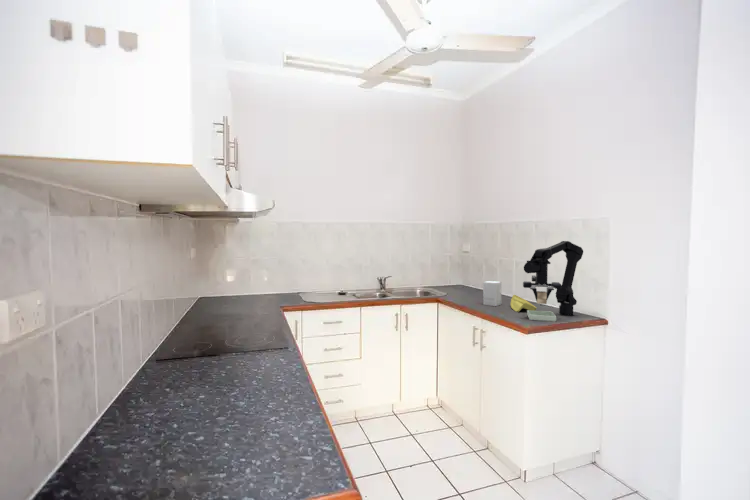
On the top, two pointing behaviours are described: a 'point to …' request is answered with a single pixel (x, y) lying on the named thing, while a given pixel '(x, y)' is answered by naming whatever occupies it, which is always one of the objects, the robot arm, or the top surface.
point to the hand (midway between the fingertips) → (541, 300)
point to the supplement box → (492, 293)
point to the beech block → (541, 297)
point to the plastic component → (521, 304)
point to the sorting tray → (541, 315)
